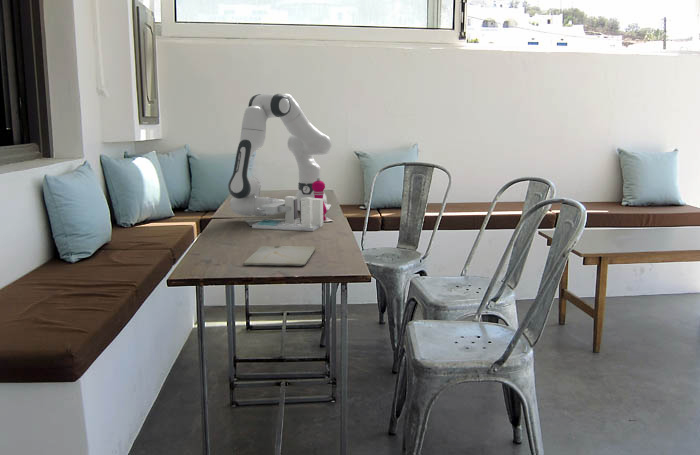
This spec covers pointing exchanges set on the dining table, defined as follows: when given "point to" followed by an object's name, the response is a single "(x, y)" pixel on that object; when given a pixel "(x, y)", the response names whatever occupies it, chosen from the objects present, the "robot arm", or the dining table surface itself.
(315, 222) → the block
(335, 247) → the dining table surface
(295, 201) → the tall white upright block
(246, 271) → the dining table surface
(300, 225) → the rail
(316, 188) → the pepper mill
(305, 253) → the decorative slab
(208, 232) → the dining table surface
